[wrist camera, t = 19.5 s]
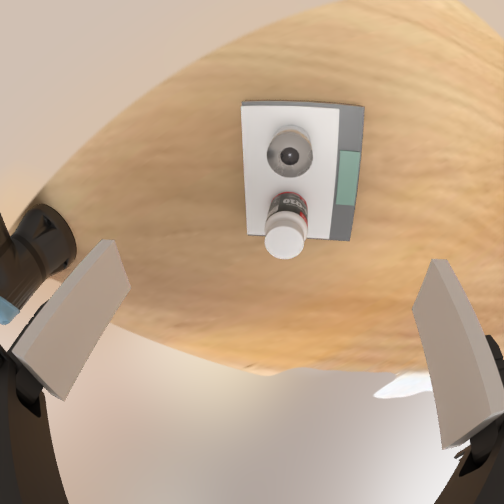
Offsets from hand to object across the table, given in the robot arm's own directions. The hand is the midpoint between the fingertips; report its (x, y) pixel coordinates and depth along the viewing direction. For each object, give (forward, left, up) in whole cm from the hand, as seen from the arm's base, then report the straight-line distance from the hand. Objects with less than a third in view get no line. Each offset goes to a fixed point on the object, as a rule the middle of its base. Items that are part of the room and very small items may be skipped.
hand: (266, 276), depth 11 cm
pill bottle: (0, -9, -24) cm, 26 cm away
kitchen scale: (+2, -4, -27) cm, 27 cm away
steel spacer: (0, 0, -24) cm, 24 cm away
